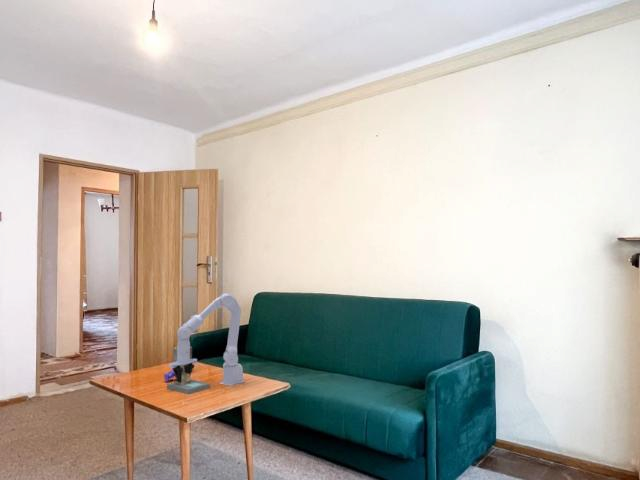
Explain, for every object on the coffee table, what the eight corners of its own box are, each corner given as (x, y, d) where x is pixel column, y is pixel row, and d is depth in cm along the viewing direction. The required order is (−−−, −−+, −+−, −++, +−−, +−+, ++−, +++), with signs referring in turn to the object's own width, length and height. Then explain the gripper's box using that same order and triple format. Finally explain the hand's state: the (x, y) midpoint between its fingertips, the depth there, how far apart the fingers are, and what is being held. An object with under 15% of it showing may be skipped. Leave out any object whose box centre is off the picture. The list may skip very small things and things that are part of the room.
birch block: (184, 385, 205) (184, 372, 205) (189, 386, 203) (189, 373, 203) (176, 387, 202) (177, 374, 202) (182, 388, 199) (182, 375, 200)
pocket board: (188, 383, 209) (188, 378, 209) (209, 389, 200) (209, 383, 200) (166, 389, 199) (167, 383, 200) (188, 395, 190) (188, 389, 190)
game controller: (164, 378, 206) (159, 370, 214) (168, 392, 209) (163, 384, 217) (184, 369, 211) (178, 361, 220) (188, 383, 214) (182, 375, 222)
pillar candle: (193, 370, 238) (193, 343, 239) (189, 374, 228) (189, 346, 229) (175, 370, 237) (176, 343, 238) (170, 375, 227) (171, 346, 228)
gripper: (190, 348, 211) (190, 376, 210) (165, 353, 200) (164, 383, 199) (200, 350, 207) (199, 378, 206) (174, 355, 195) (174, 385, 195)
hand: (183, 381), depth 202 cm, fingers closed on birch block, 4 cm apart
